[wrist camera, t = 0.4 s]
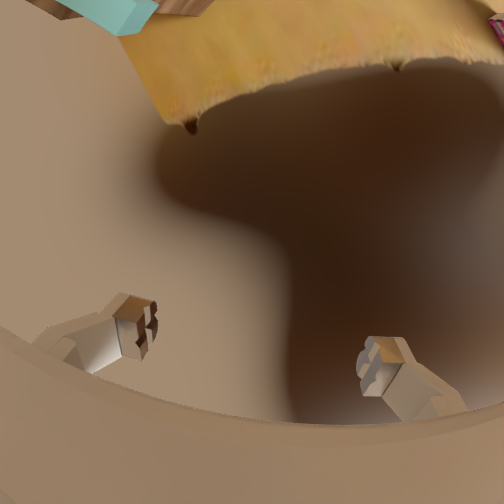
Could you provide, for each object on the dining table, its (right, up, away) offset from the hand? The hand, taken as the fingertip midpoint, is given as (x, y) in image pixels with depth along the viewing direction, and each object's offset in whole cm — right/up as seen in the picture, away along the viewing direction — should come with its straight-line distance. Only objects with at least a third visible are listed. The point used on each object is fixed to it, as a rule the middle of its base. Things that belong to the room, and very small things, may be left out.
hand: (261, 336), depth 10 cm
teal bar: (-17, +29, -1) cm, 34 cm away
